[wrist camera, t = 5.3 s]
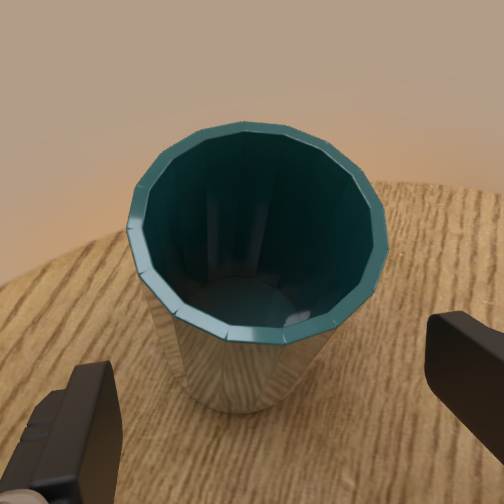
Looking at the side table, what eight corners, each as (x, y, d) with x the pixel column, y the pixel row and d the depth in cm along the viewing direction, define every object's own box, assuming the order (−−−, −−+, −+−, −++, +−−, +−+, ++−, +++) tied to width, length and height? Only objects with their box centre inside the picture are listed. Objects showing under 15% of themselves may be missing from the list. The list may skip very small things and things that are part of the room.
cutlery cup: (189, 437, 17) (166, 385, 9) (150, 296, 20) (104, 148, 11) (332, 384, 19) (436, 294, 10) (278, 259, 22) (324, 103, 13)
